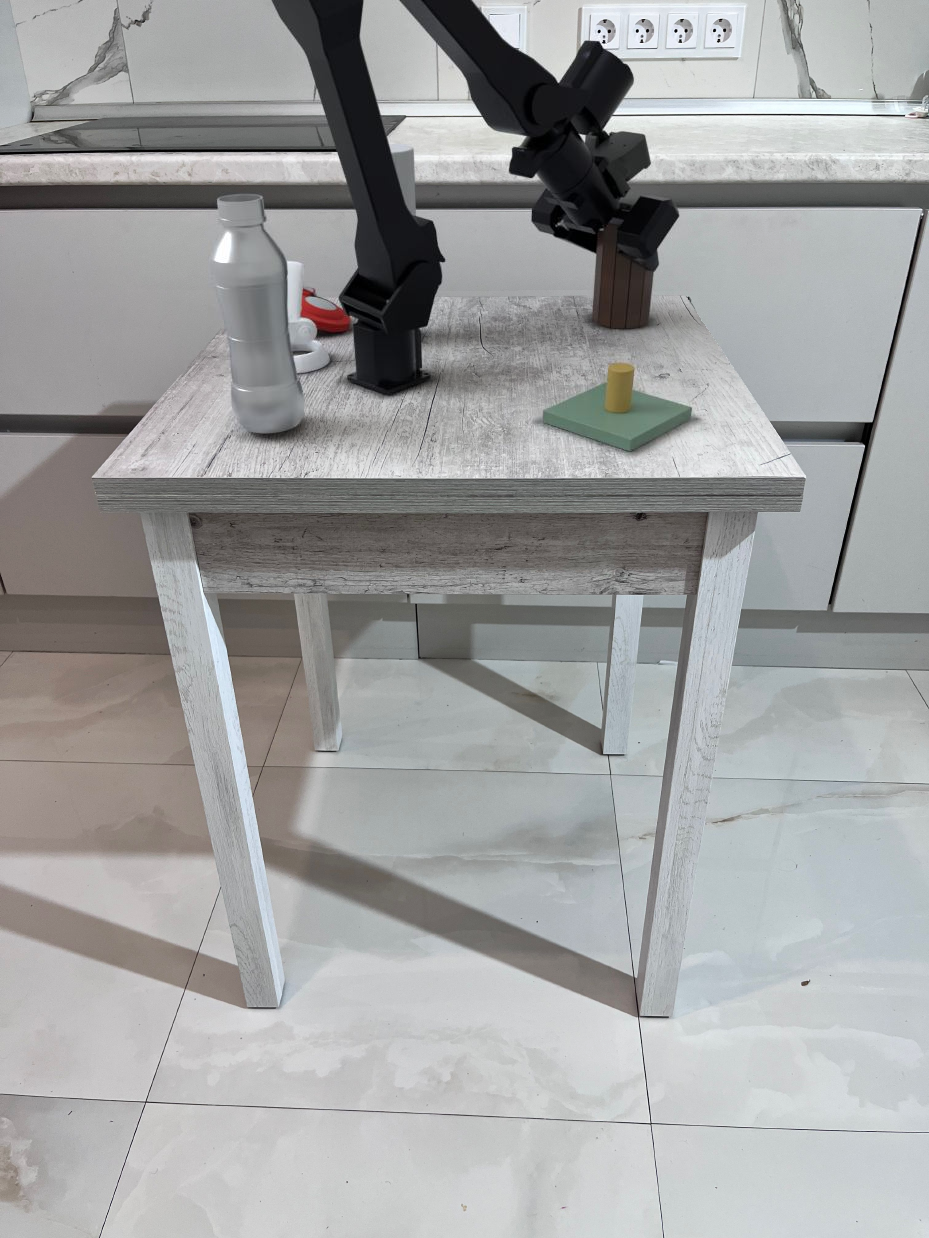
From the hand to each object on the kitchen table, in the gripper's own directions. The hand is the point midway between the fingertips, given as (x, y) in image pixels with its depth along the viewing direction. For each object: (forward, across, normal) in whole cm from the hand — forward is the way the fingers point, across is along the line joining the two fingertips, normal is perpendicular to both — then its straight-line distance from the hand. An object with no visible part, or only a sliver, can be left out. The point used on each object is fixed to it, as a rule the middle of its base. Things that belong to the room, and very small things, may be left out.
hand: (633, 262), depth 111 cm
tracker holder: (-18, +22, +27) cm, 39 cm away
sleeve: (+4, 0, +6) cm, 7 cm away
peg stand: (-12, -22, +22) cm, 33 cm away
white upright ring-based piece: (-24, +11, +33) cm, 42 cm away
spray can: (-14, +12, +24) cm, 30 cm away
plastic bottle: (-31, -4, +40) cm, 51 cm away
